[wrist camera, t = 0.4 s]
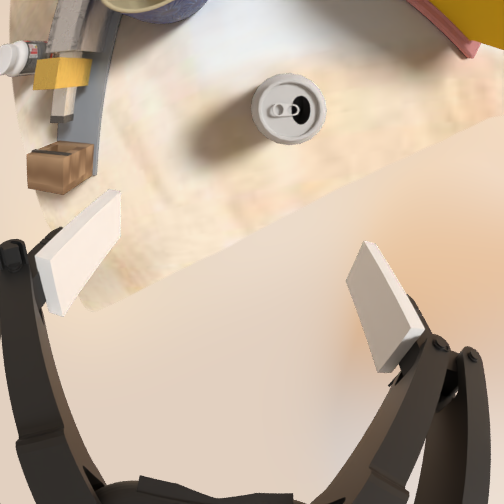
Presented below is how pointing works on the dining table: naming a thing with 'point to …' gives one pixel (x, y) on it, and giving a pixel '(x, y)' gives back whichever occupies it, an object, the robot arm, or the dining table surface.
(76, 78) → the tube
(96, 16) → the sleeve
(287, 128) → the can
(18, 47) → the pill bottle
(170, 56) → the dining table surface
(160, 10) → the planter
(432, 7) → the yellow fan-shaped sign
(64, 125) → the board
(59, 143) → the socket
